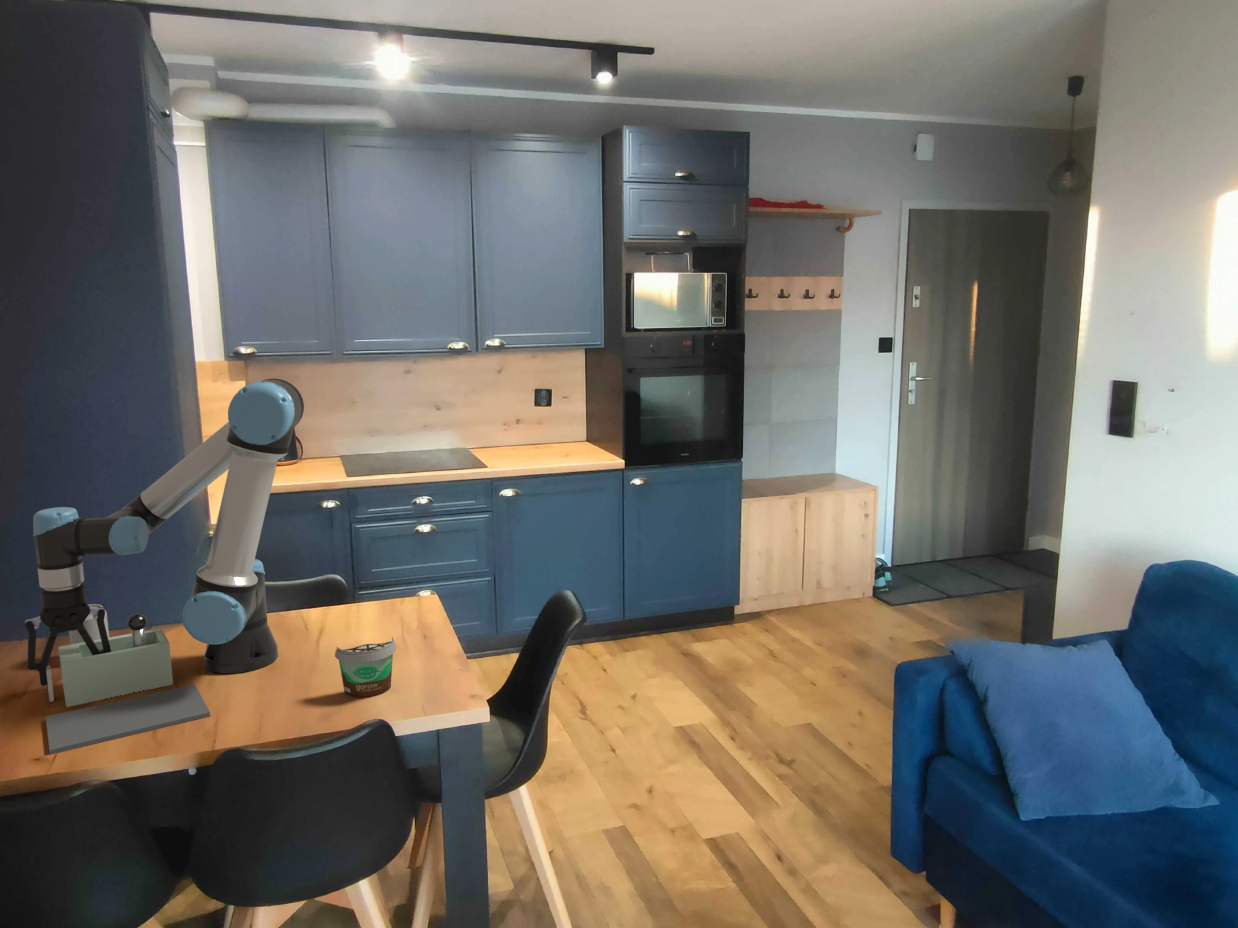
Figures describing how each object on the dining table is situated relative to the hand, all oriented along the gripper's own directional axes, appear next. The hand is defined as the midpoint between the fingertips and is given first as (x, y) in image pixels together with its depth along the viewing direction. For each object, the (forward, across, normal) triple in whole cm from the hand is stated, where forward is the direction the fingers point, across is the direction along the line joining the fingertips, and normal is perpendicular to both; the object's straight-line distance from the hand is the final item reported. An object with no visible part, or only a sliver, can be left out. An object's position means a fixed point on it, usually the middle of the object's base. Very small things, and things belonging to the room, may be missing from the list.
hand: (73, 694), depth 177 cm
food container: (0, -50, +34) cm, 60 cm away
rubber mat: (0, -8, +18) cm, 20 cm away
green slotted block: (0, -8, 0) cm, 8 cm away
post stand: (0, -12, 0) cm, 12 cm away
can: (0, -5, -20) cm, 21 cm away
